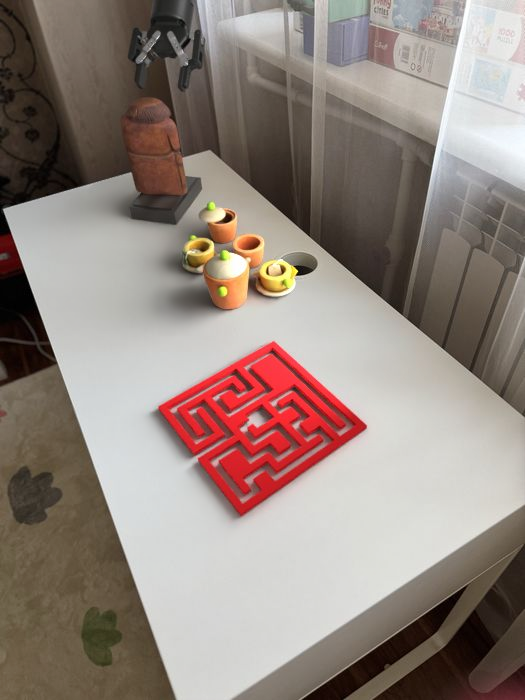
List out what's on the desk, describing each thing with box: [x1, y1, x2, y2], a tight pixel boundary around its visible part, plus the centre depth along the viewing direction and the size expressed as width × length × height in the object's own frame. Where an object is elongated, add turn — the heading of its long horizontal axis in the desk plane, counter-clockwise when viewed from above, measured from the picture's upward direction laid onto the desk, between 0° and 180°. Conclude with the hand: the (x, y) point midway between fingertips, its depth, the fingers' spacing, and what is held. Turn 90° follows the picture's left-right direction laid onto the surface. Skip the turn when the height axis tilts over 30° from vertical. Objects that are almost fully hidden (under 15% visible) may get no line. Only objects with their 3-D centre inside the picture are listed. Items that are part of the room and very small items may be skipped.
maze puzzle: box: [157, 340, 368, 517], centre depth 72 cm, size 20×20×1 cm
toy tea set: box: [181, 201, 299, 310], centre depth 92 cm, size 26×16×10 cm, turn 31°
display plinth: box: [128, 175, 203, 226], centre depth 110 cm, size 10×14×3 cm
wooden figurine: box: [120, 96, 187, 195], centre depth 103 cm, size 12×6×18 cm, turn 81°
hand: (160, 88), depth 100 cm, fingers open, 8 cm apart
